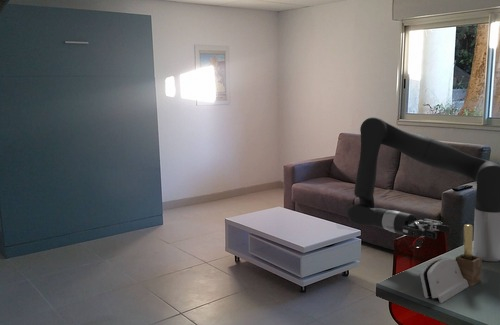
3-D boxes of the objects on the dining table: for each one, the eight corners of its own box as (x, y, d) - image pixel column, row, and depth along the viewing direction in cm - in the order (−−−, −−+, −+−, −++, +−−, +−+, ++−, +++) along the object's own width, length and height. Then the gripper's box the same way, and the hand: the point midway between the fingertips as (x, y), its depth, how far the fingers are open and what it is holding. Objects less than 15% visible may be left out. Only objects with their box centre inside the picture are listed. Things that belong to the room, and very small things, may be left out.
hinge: (441, 303, 127) (430, 267, 128) (426, 303, 130) (415, 269, 132) (469, 285, 137) (459, 253, 138) (454, 286, 141) (445, 254, 142)
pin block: (463, 275, 144) (464, 253, 143) (480, 281, 140) (481, 257, 139) (454, 280, 141) (455, 257, 140) (472, 286, 137) (473, 262, 136)
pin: (465, 270, 142) (466, 223, 140) (473, 272, 140) (474, 225, 138) (462, 272, 140) (462, 225, 139) (469, 274, 139) (470, 226, 137)
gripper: (386, 215, 153) (431, 226, 140) (410, 208, 161) (455, 217, 149) (386, 237, 154) (431, 249, 141) (410, 228, 163) (454, 239, 150)
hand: (443, 232), depth 145 cm, fingers open, 8 cm apart
